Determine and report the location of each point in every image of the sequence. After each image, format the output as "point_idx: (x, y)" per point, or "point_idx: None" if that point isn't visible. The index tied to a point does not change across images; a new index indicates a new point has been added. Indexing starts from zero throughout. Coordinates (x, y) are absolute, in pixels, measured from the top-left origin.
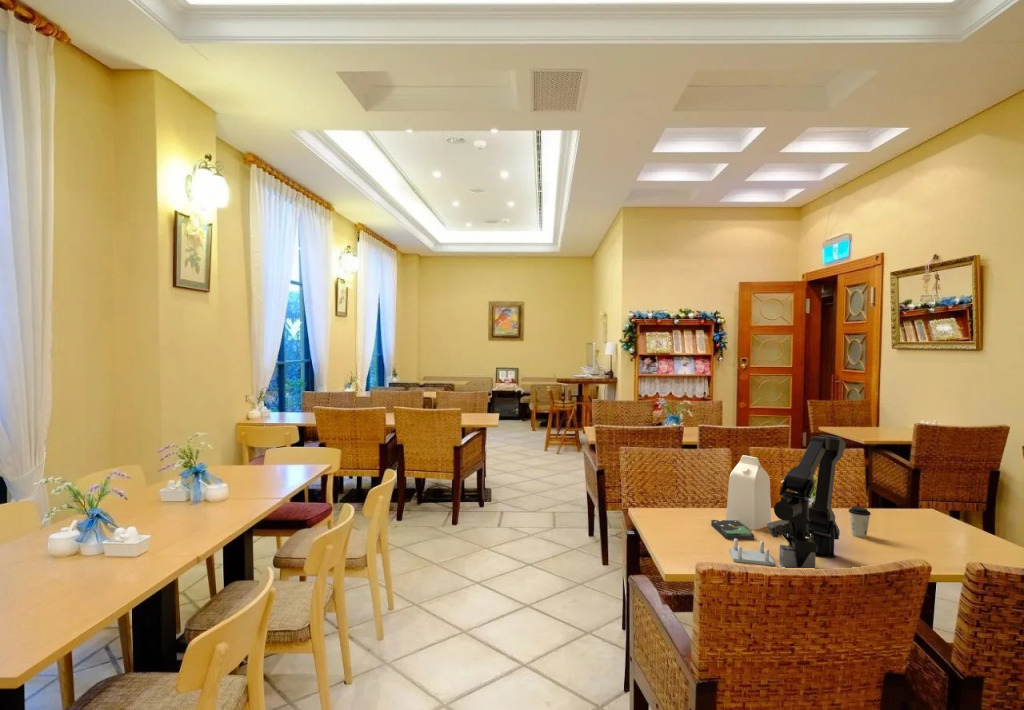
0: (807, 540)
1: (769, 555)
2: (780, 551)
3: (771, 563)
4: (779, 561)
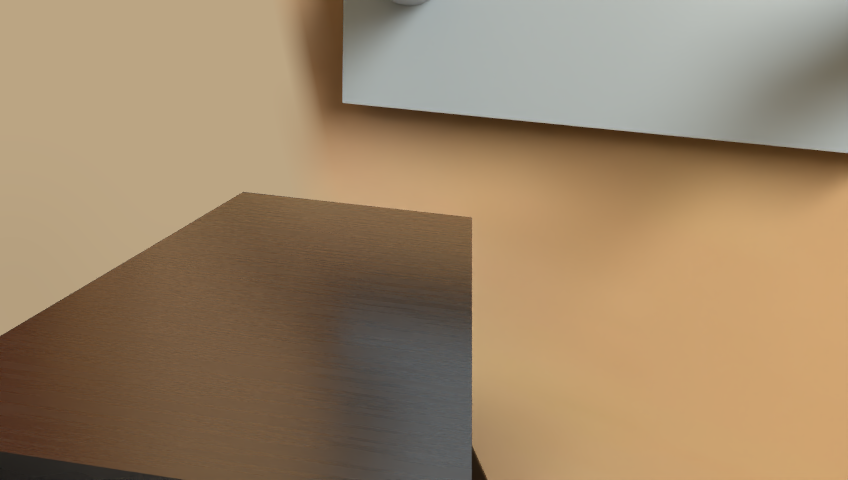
0: None
1: (725, 127)
2: (369, 345)
3: (353, 47)
4: (460, 229)
